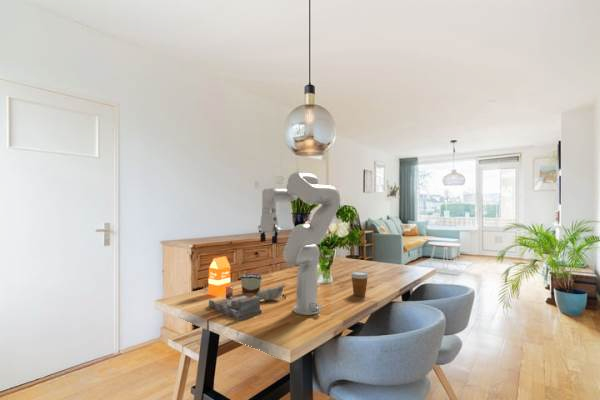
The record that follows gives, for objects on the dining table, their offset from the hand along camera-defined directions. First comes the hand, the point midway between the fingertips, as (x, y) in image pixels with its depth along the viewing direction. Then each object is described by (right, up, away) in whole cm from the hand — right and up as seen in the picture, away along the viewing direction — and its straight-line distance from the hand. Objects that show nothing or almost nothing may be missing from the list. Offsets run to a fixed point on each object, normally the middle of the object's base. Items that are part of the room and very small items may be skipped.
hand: (268, 242), depth 167 cm
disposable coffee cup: (+50, -29, 0) cm, 58 cm away
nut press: (-13, -28, -25) cm, 40 cm away
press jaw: (-14, -26, -24) cm, 38 cm away
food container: (-10, -29, +3) cm, 30 cm away
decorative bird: (+2, -29, -11) cm, 31 cm away
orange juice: (-27, -28, 0) cm, 39 cm away
